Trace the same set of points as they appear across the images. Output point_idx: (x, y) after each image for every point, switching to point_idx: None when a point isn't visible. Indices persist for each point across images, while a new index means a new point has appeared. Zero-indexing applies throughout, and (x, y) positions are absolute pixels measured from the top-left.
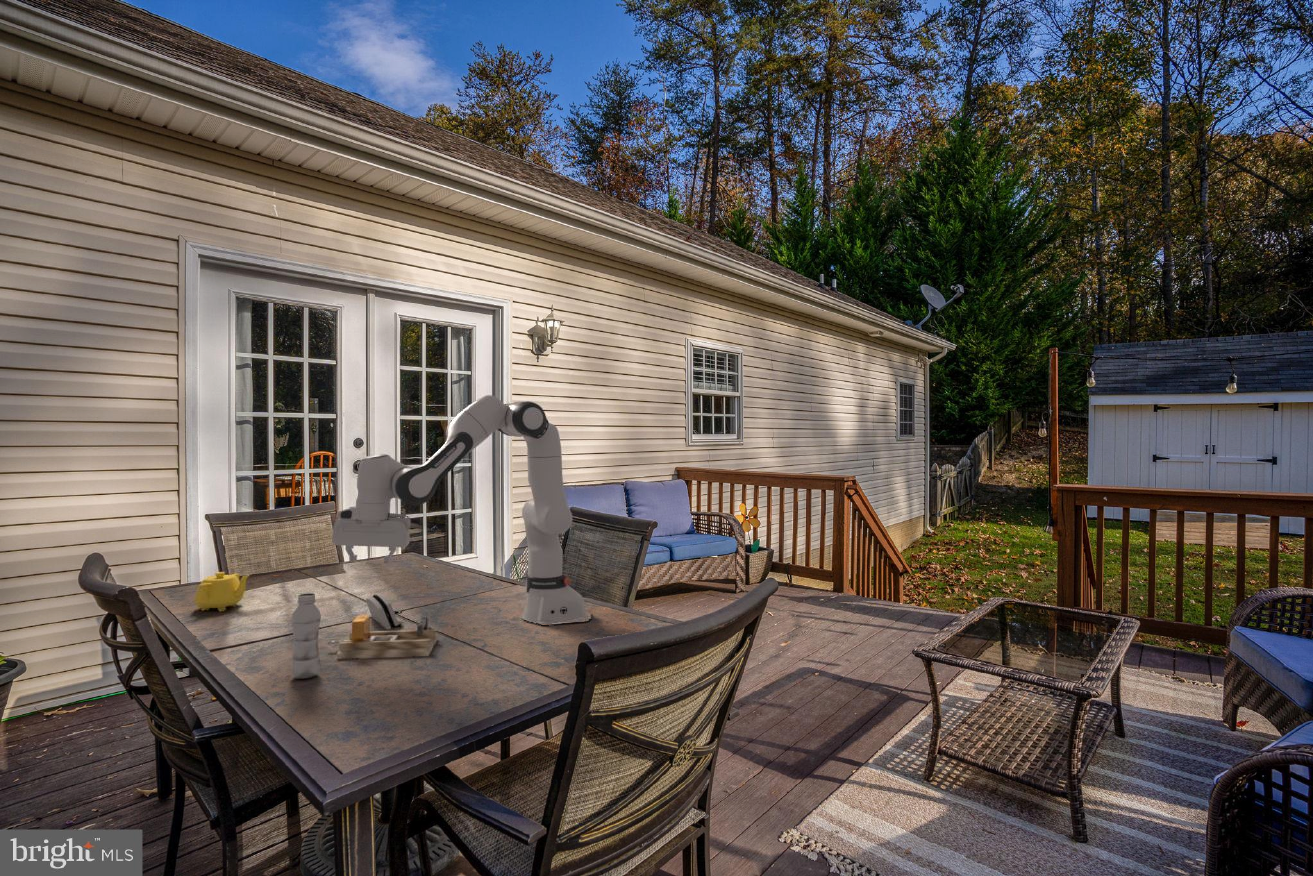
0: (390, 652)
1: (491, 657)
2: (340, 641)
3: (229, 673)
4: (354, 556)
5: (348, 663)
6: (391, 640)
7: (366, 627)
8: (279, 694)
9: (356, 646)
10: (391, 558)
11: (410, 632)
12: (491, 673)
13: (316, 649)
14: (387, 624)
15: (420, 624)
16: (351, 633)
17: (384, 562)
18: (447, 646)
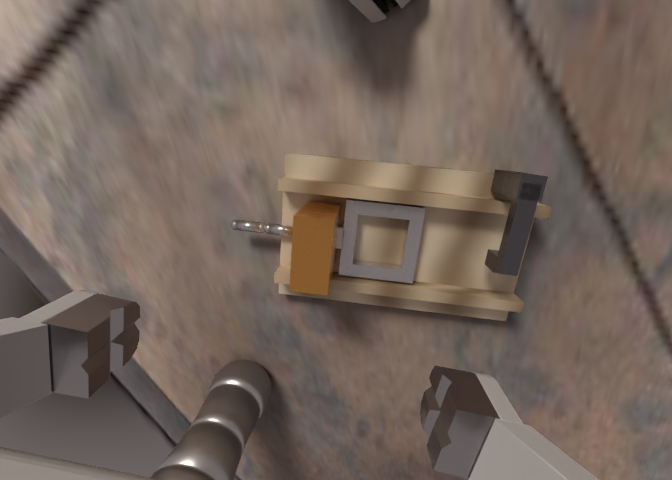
0: (408, 308)
1: (656, 357)
2: (266, 232)
3: None
4: (91, 392)
5: (315, 318)
6: (408, 262)
7: (333, 253)
8: None
9: None
10: (506, 402)
11: (464, 209)
12: (626, 445)
13: (251, 432)
14: (374, 14)
15: (510, 265)
16: (283, 190)
17: (425, 415)
18: (558, 249)
